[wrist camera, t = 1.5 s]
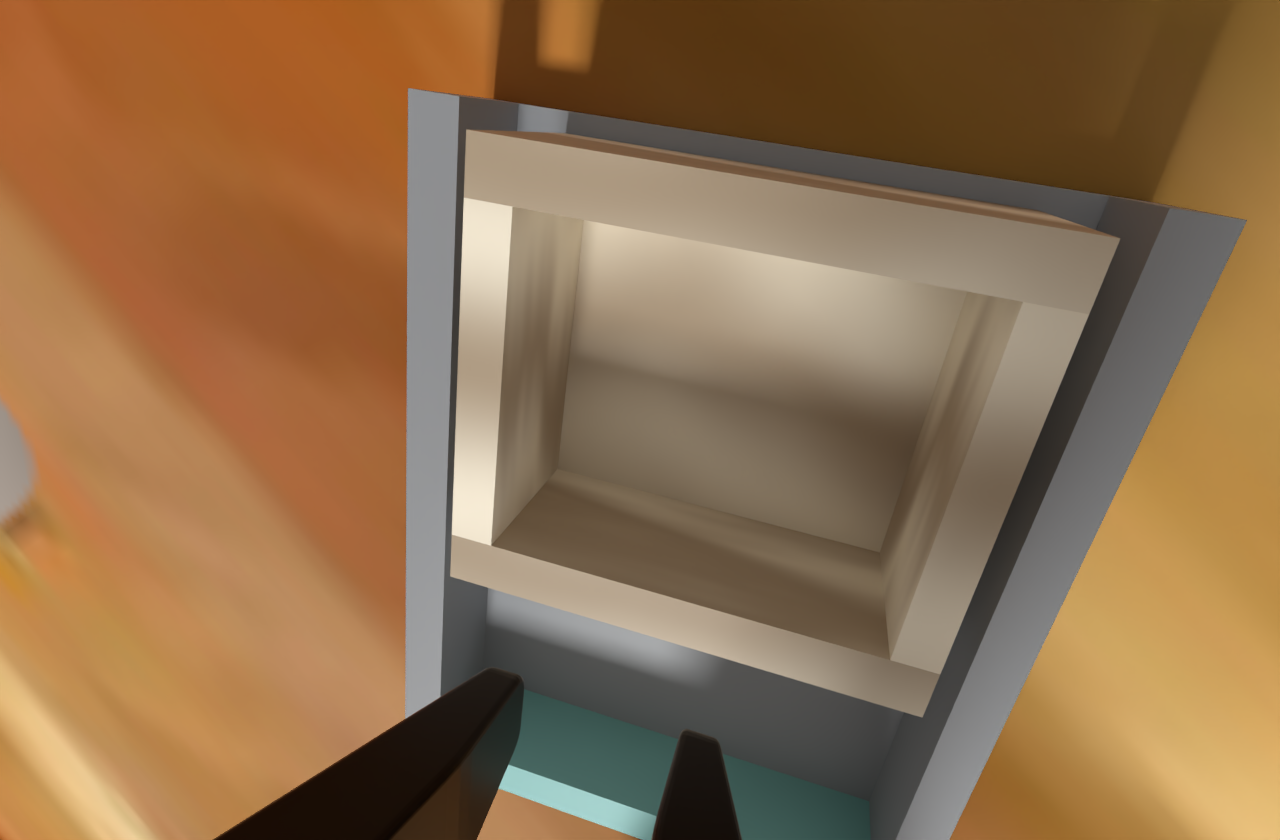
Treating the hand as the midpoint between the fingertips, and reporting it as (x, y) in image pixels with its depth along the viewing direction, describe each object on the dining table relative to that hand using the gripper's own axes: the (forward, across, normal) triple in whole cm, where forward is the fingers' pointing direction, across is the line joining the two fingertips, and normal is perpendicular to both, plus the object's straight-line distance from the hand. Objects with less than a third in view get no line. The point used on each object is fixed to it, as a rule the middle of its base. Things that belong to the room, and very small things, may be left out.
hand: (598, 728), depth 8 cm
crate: (+12, 0, 0) cm, 12 cm away
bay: (+13, 0, +4) cm, 14 cm away
